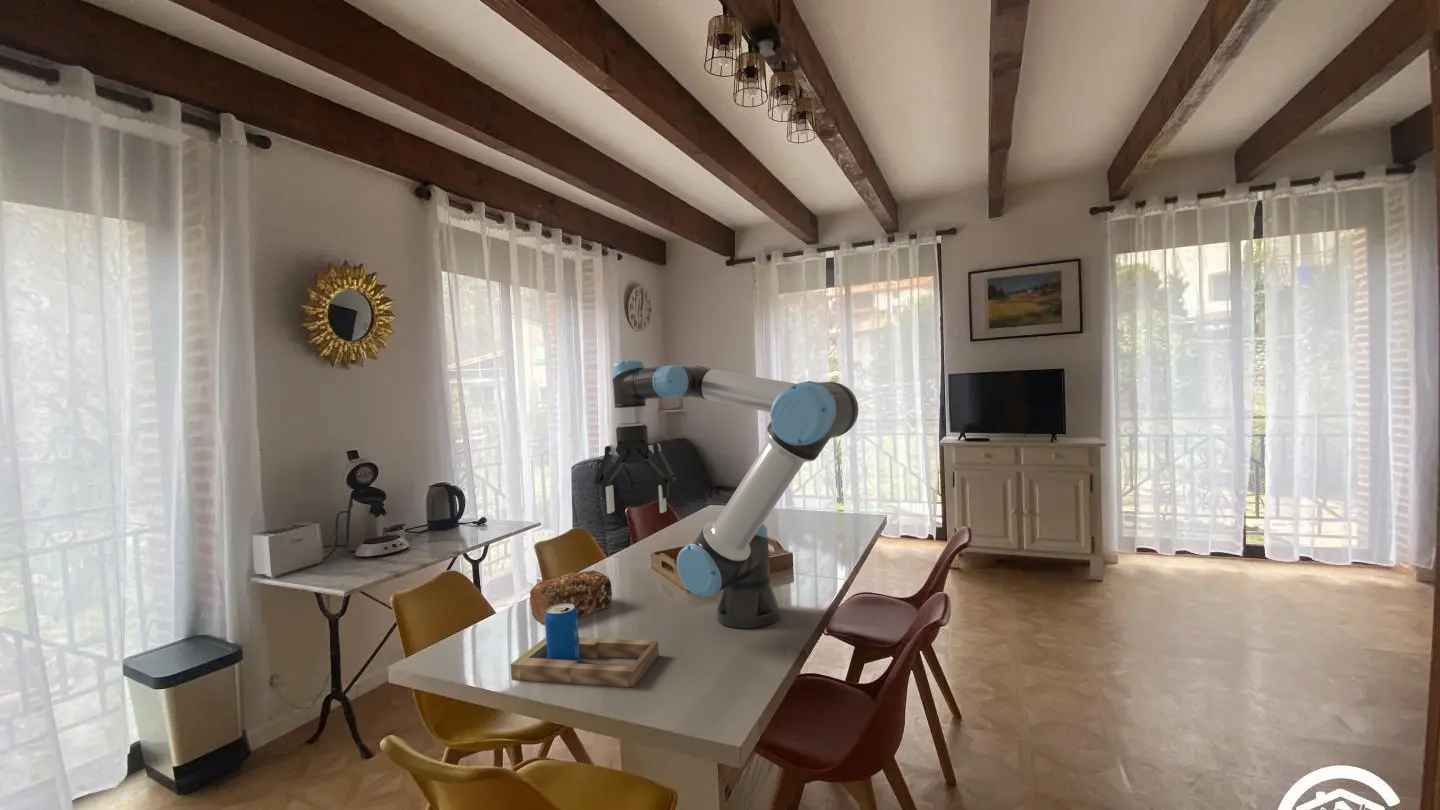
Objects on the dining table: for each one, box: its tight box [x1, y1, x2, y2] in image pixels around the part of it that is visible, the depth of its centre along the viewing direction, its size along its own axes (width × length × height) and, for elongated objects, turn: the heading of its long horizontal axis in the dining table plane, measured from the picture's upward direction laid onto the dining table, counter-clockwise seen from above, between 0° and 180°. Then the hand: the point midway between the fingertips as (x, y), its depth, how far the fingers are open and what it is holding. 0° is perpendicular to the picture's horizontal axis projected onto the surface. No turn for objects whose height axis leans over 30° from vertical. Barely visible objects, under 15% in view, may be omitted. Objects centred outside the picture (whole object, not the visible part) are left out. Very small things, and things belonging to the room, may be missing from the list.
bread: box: [529, 569, 613, 626], centre depth 157 cm, size 19×11×10 cm, turn 130°
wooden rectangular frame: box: [510, 636, 660, 688], centre depth 124 cm, size 26×14×3 cm, turn 76°
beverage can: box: [544, 603, 581, 664], centre depth 125 cm, size 6×6×12 cm
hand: (636, 512), depth 147 cm, fingers open, 13 cm apart
